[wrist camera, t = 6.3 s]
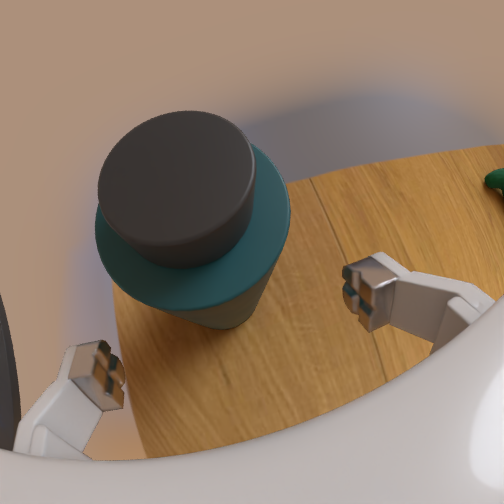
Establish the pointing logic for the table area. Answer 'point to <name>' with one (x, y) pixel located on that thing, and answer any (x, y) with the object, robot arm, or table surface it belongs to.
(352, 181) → the table surface
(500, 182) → the gaming controller
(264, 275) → the bottle
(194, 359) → the table surface
